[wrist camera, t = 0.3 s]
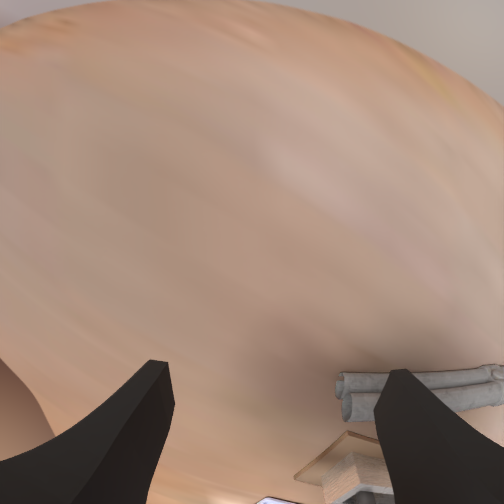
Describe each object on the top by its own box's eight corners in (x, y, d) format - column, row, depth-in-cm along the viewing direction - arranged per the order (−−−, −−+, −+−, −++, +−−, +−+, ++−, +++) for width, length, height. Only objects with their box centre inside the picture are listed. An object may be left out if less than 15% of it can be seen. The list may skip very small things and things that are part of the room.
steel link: (396, 489, 23) (405, 512, 19) (321, 476, 22) (325, 506, 18) (424, 467, 22) (435, 491, 18) (351, 451, 21) (360, 483, 17)
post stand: (395, 494, 24) (405, 525, 18) (294, 475, 23) (296, 519, 17) (442, 456, 22) (458, 487, 17) (347, 430, 21) (360, 477, 16)
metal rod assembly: (331, 390, 21) (343, 433, 16) (340, 361, 20) (357, 403, 15) (525, 374, 20) (548, 394, 15) (535, 353, 20) (559, 372, 15)
